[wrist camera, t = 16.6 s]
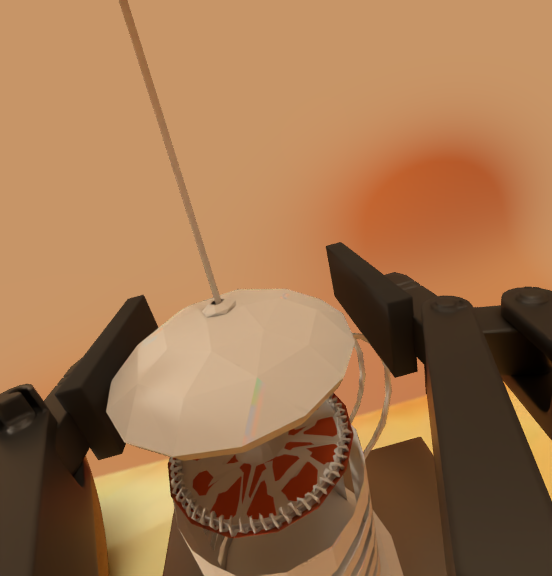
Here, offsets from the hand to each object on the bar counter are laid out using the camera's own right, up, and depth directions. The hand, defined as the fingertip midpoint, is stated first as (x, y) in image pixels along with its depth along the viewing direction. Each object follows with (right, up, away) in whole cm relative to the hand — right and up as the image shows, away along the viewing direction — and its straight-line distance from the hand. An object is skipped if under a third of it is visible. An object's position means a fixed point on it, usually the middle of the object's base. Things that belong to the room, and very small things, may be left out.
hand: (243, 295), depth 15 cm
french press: (+4, -14, +1) cm, 14 cm away
